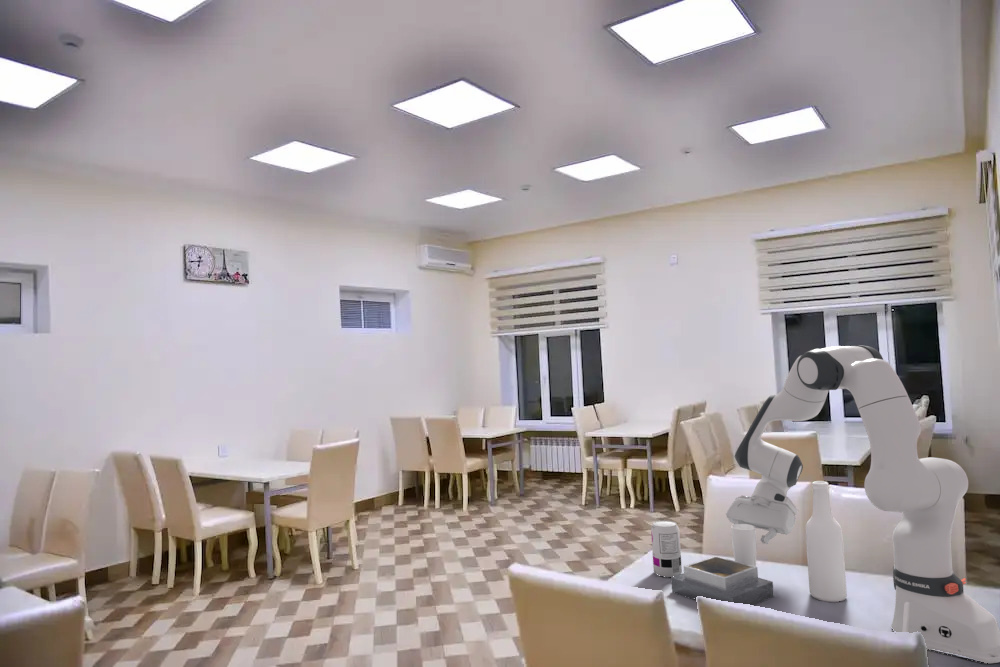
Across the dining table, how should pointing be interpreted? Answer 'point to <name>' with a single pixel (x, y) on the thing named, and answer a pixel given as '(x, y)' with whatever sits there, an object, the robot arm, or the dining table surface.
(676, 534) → the supplement can
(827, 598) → the white bottle
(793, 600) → the dining table surface
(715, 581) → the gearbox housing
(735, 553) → the drinking glass
